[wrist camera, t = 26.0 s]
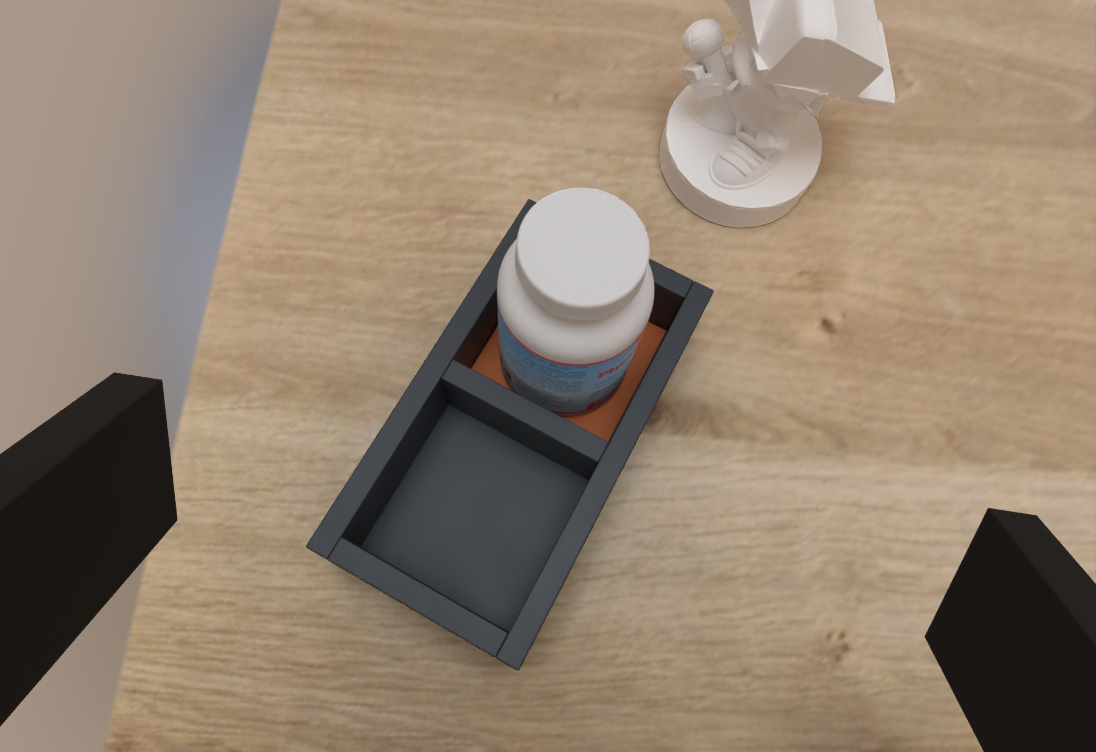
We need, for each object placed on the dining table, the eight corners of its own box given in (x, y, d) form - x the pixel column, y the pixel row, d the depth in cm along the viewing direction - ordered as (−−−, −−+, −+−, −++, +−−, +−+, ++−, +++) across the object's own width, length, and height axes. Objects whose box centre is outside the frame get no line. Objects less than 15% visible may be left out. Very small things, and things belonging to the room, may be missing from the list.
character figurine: (655, 91, 42) (707, -104, 31) (818, 97, 43) (927, -95, 31) (662, 225, 40) (722, 64, 28) (836, 230, 40) (964, 73, 29)
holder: (334, 558, 33) (304, 546, 29) (526, 250, 39) (528, 198, 34) (517, 664, 32) (518, 671, 27) (689, 332, 38) (714, 290, 33)
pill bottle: (614, 431, 35) (659, 344, 24) (487, 404, 35) (475, 307, 24) (635, 315, 36) (685, 187, 26) (514, 290, 37) (515, 153, 26)
